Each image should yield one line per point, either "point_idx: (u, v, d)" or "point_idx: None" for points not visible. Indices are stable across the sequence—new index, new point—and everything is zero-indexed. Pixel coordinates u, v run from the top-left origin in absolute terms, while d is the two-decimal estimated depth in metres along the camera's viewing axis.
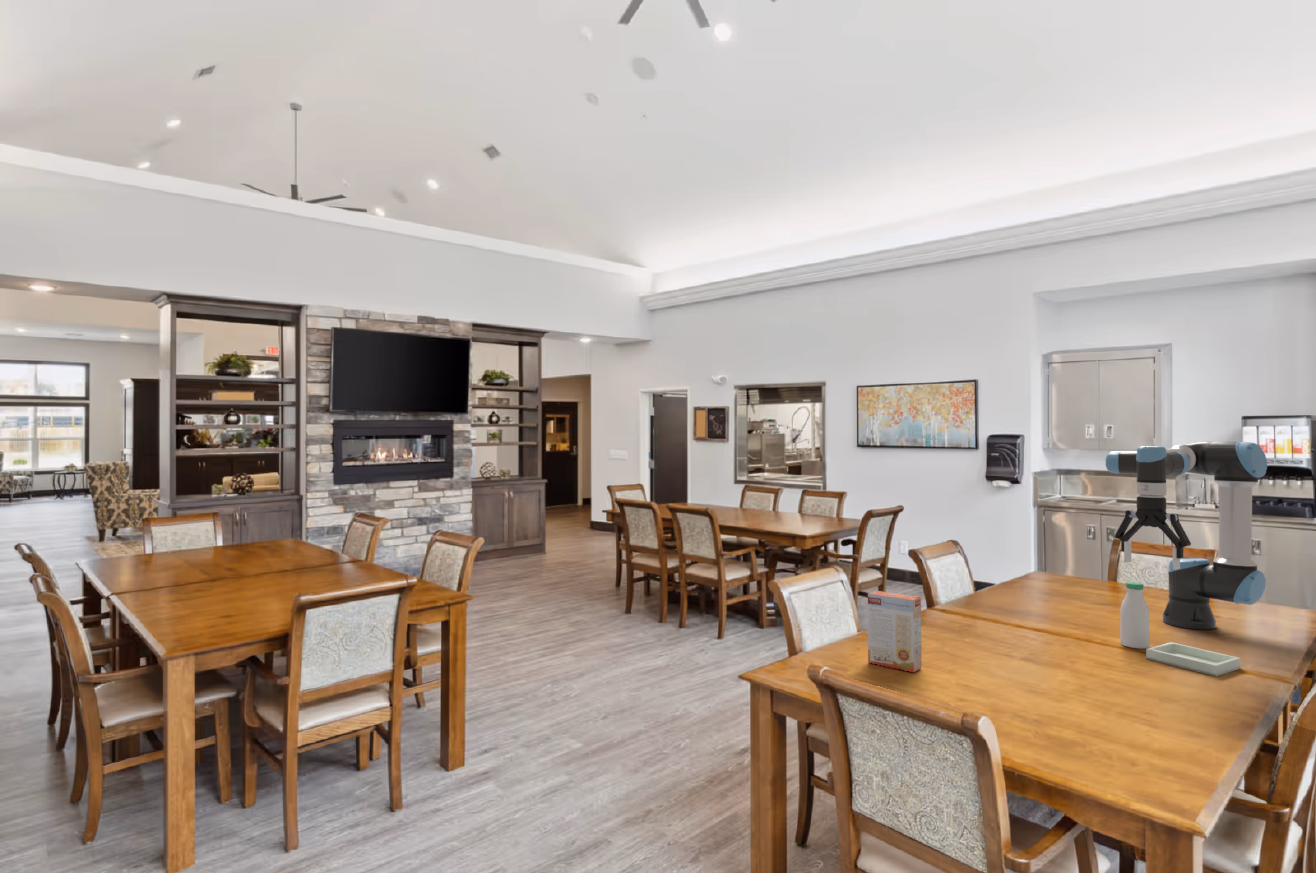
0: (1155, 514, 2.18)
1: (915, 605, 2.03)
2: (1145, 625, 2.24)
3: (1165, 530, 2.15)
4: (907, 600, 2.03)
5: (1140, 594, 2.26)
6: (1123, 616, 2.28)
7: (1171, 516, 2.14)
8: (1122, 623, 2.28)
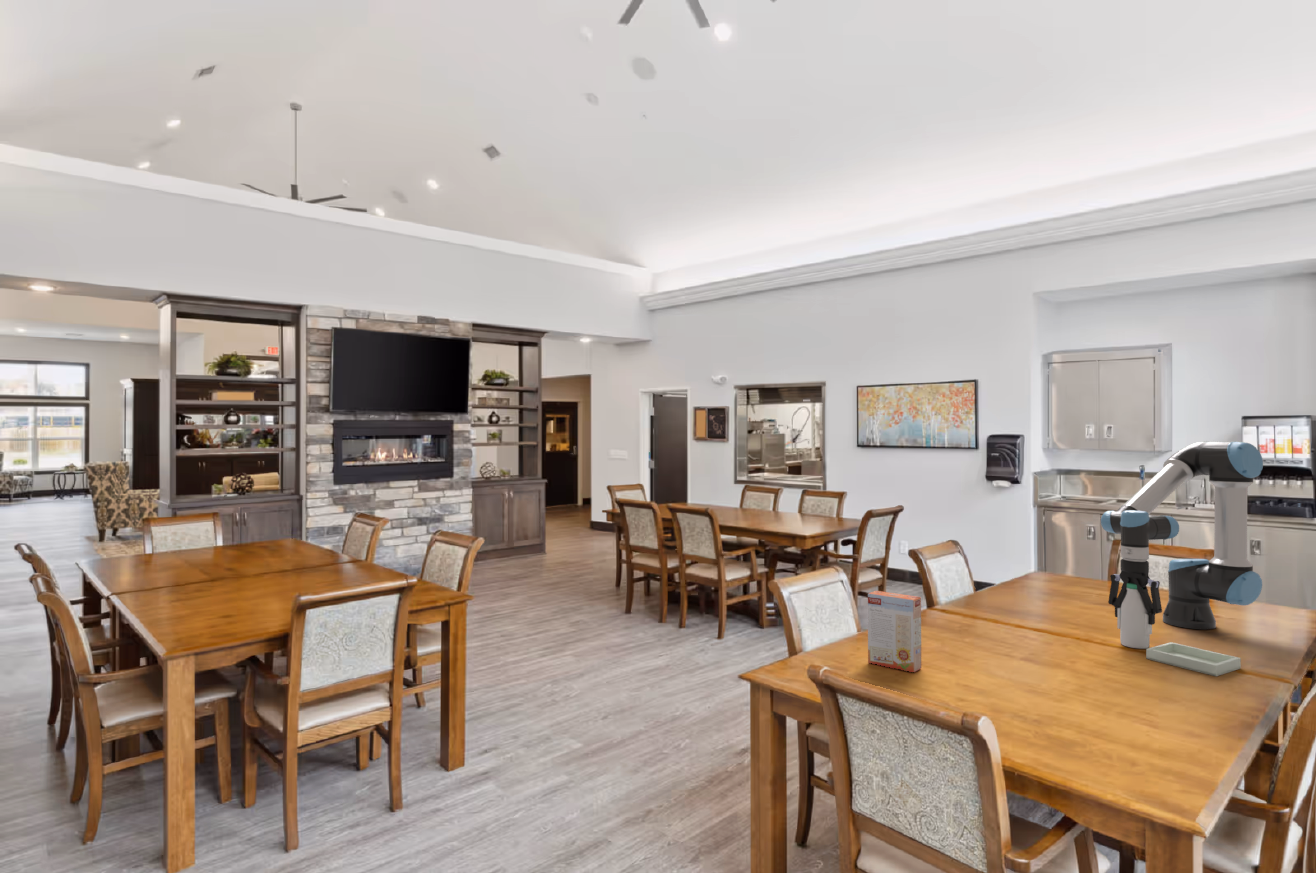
0: (1138, 576, 2.26)
1: (915, 605, 2.03)
2: None
3: (1143, 595, 2.25)
4: (907, 600, 2.03)
5: None
6: (1123, 616, 2.28)
7: (1152, 583, 2.22)
8: (1122, 623, 2.28)
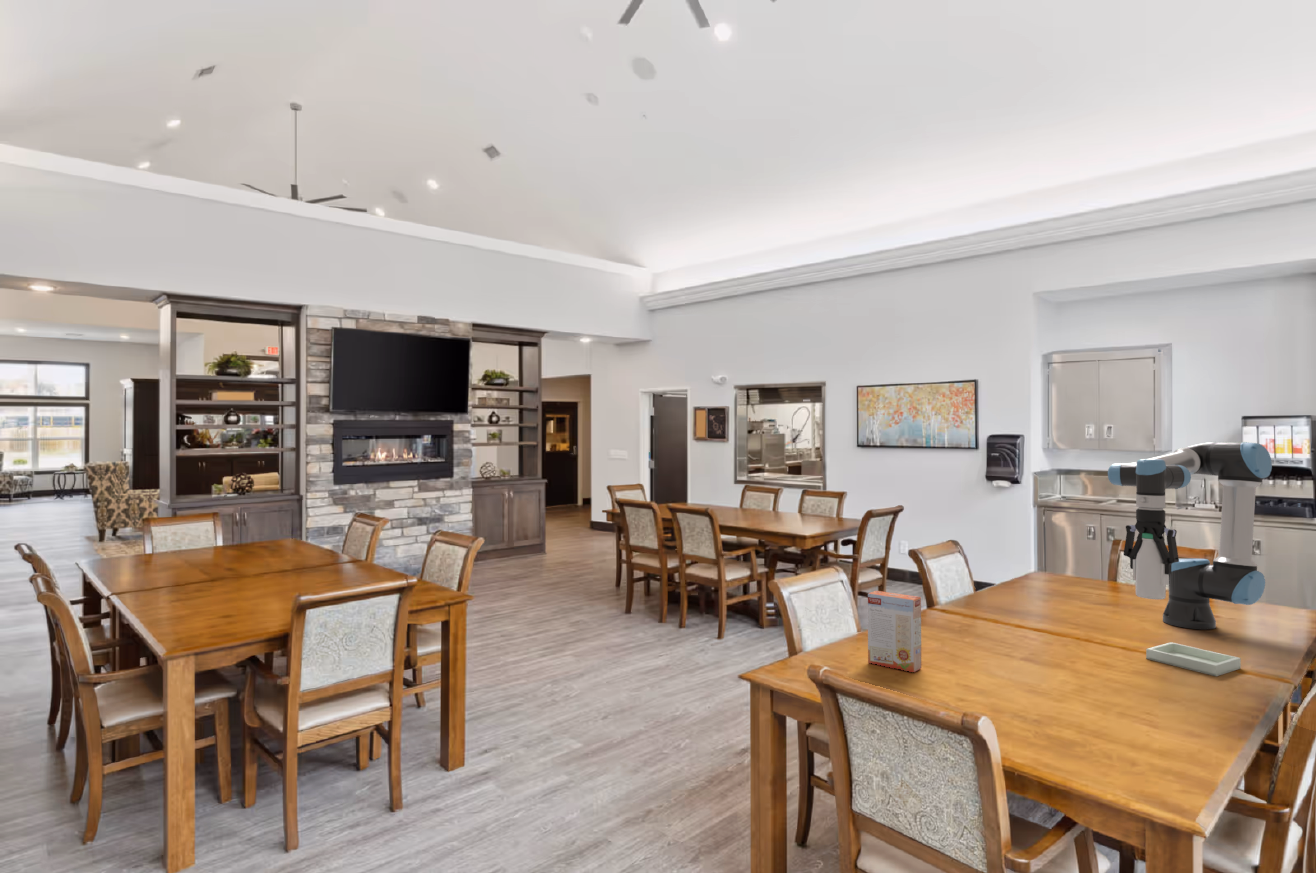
0: (1155, 525, 2.20)
1: (915, 605, 2.03)
2: None
3: (1159, 544, 2.19)
4: (907, 600, 2.03)
5: None
6: (1138, 567, 2.22)
7: (1169, 532, 2.17)
8: (1138, 574, 2.23)
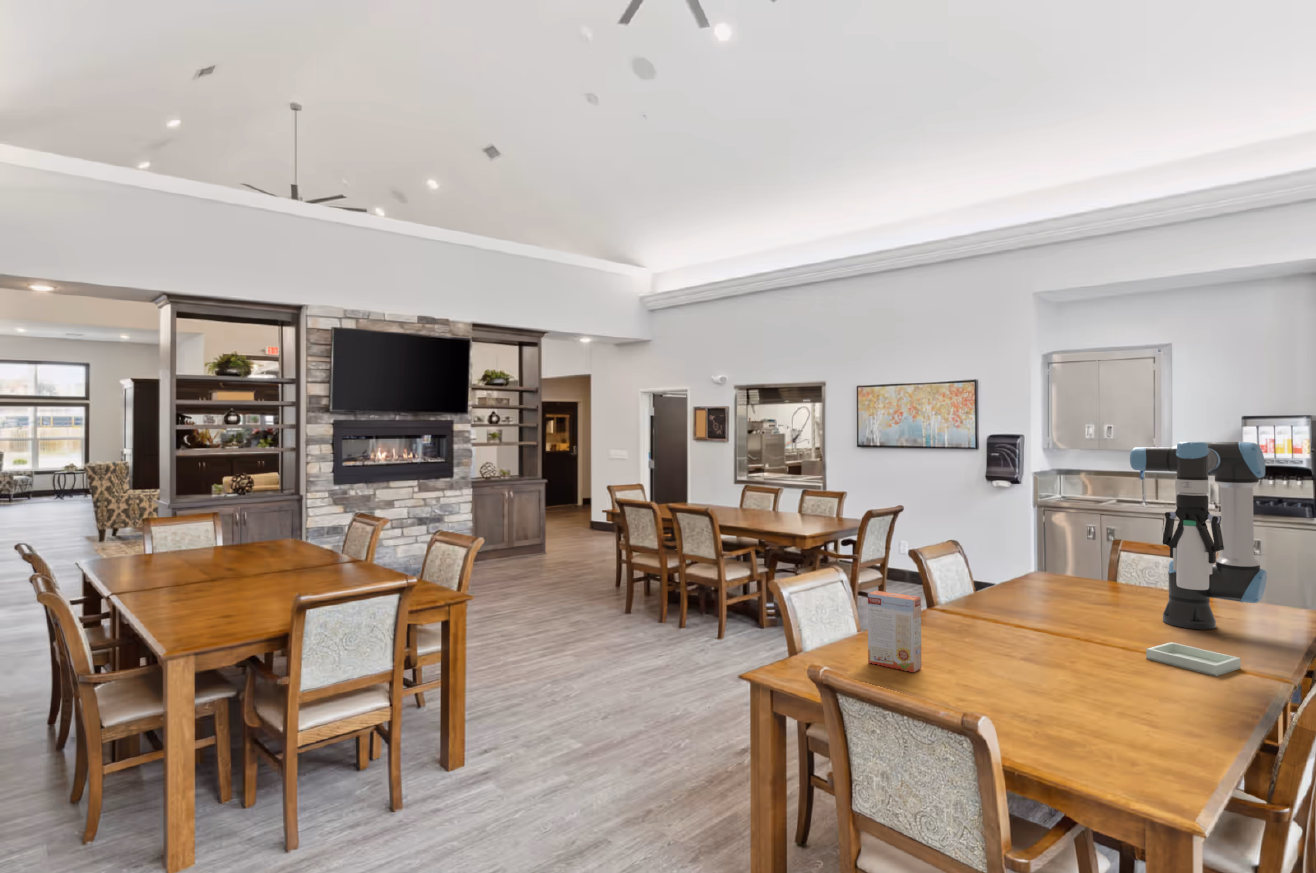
0: (1197, 511, 2.08)
1: (915, 605, 2.03)
2: None
3: (1202, 532, 2.07)
4: (907, 600, 2.03)
5: None
6: (1180, 556, 2.10)
7: (1214, 518, 2.04)
8: (1179, 563, 2.10)
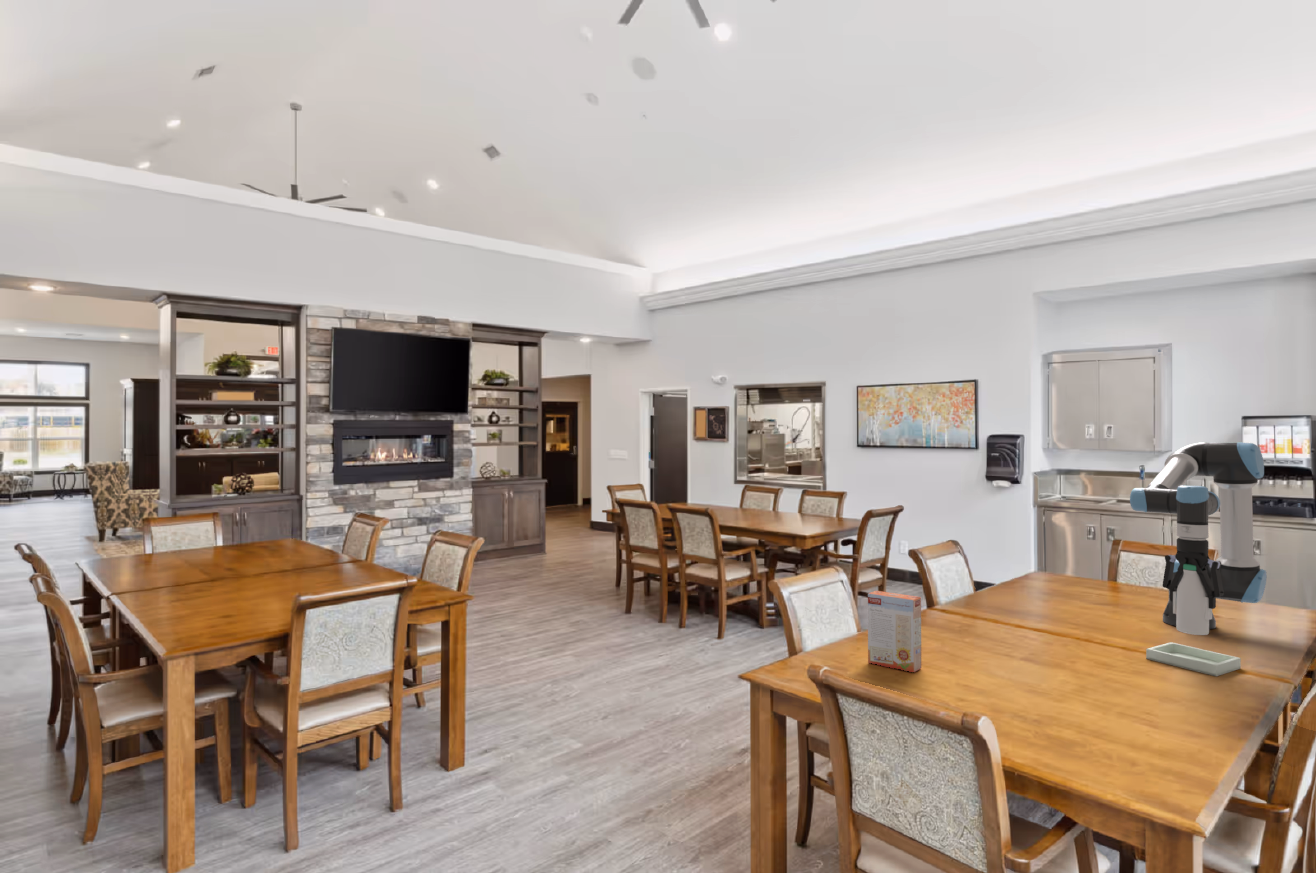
0: (1197, 556, 2.08)
1: (915, 605, 2.03)
2: None
3: (1202, 577, 2.07)
4: (907, 600, 2.03)
5: None
6: (1180, 600, 2.10)
7: (1214, 564, 2.04)
8: (1179, 607, 2.10)
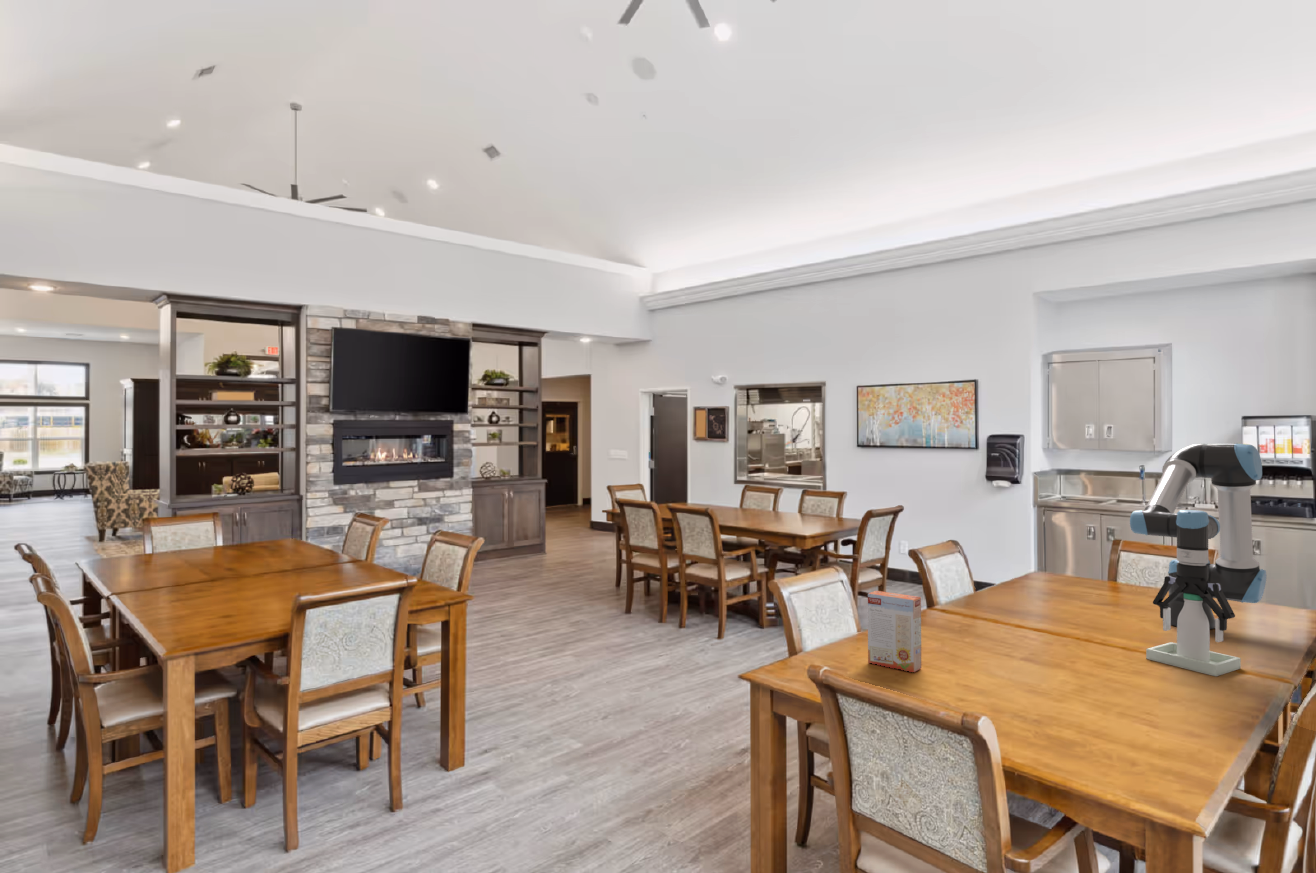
0: (1197, 582, 2.08)
1: (915, 605, 2.03)
2: (1206, 639, 2.06)
3: (1207, 600, 2.06)
4: (907, 600, 2.03)
5: (1200, 606, 2.08)
6: (1181, 629, 2.10)
7: (1214, 586, 2.04)
8: (1180, 637, 2.10)
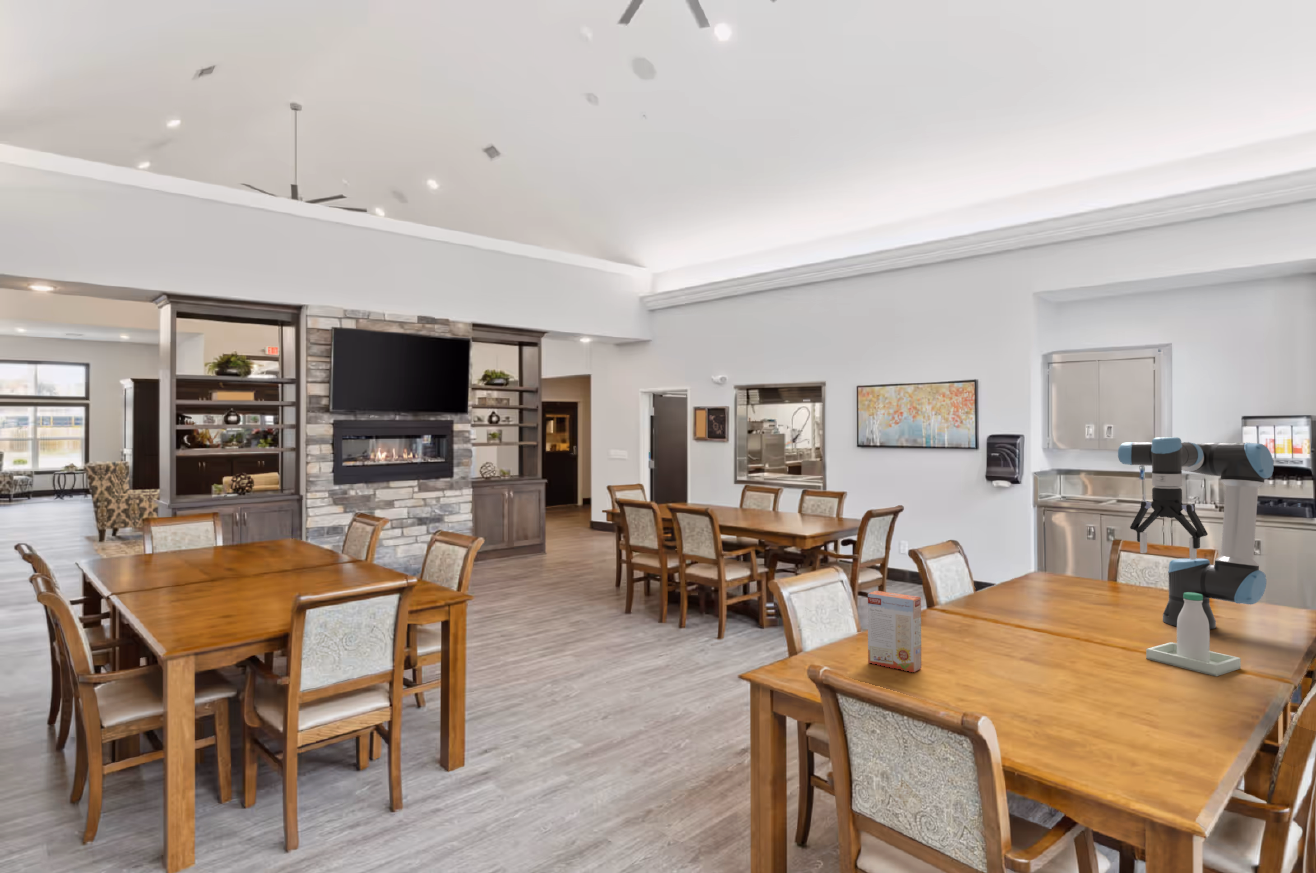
0: (1171, 505, 2.19)
1: (915, 605, 2.03)
2: (1206, 639, 2.06)
3: (1181, 521, 2.16)
4: (907, 600, 2.03)
5: (1199, 606, 2.08)
6: (1180, 629, 2.10)
7: (1187, 507, 2.15)
8: (1180, 637, 2.10)
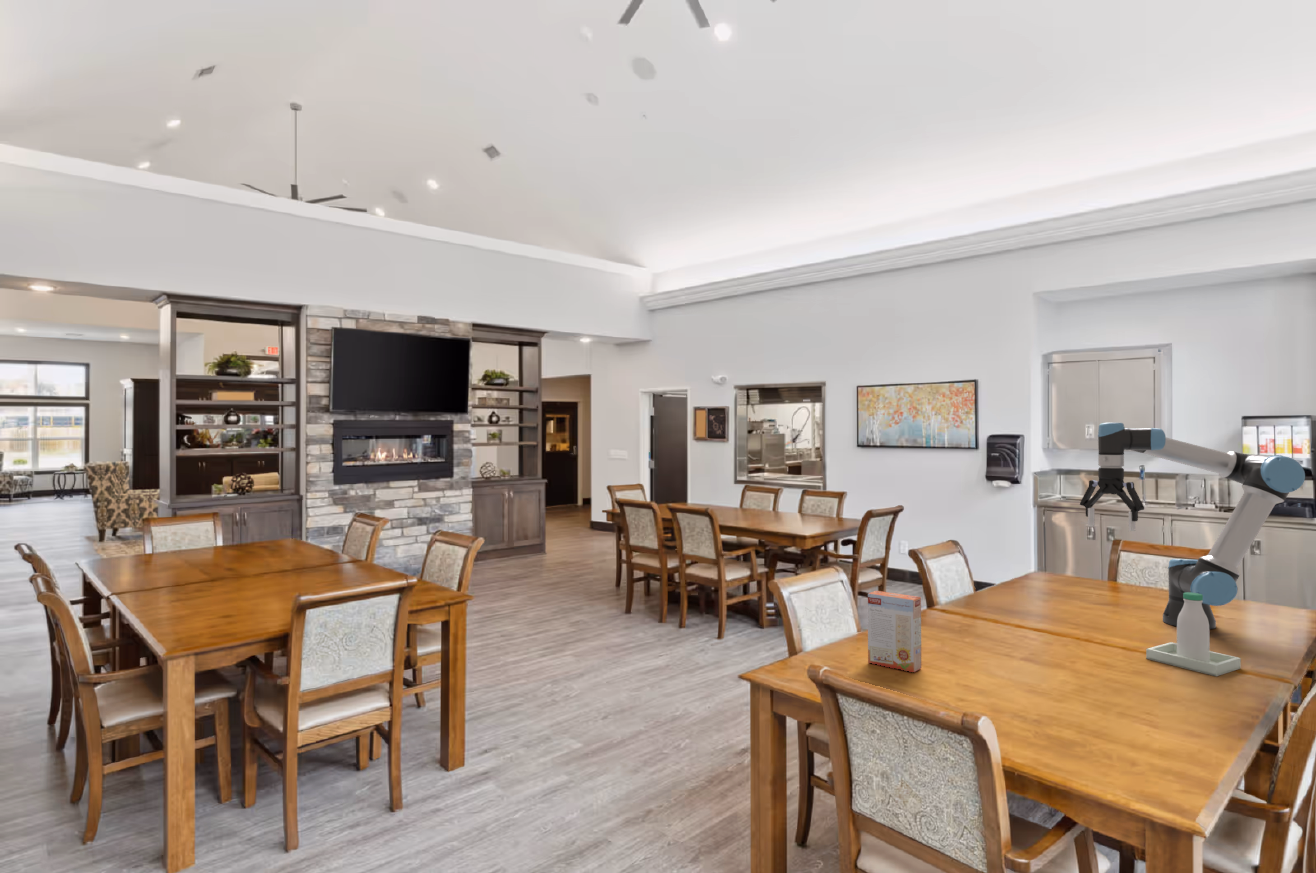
0: (1114, 483, 2.46)
1: (915, 605, 2.03)
2: (1206, 639, 2.06)
3: (1122, 496, 2.43)
4: (907, 600, 2.03)
5: (1199, 606, 2.08)
6: (1180, 629, 2.10)
7: (1127, 484, 2.42)
8: (1180, 637, 2.10)
